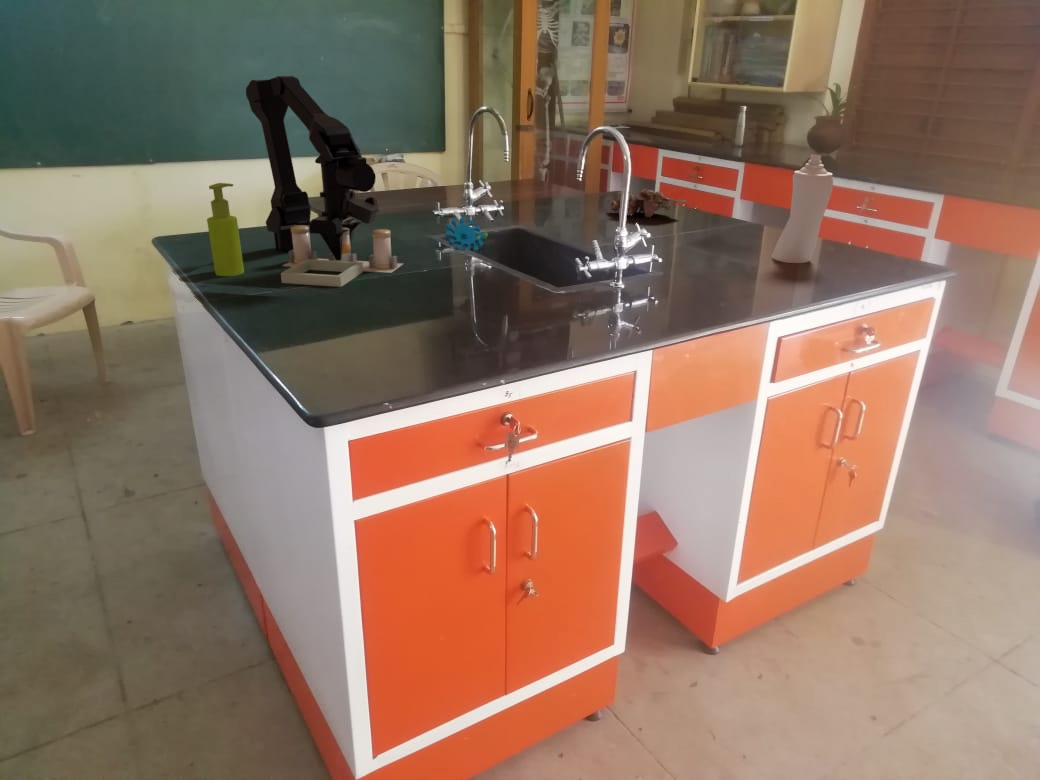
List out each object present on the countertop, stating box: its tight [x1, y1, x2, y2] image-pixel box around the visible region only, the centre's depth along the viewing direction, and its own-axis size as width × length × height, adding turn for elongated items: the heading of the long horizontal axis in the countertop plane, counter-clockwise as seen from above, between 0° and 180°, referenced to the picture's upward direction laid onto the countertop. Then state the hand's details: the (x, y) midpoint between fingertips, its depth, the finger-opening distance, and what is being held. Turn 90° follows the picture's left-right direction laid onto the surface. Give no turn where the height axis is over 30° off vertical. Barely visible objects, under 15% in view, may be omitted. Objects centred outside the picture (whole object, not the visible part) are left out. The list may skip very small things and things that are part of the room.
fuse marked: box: [334, 227, 352, 262], centre depth 170 cm, size 4×4×8 cm
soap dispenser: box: [206, 182, 245, 277], centre depth 162 cm, size 6×7×20 cm
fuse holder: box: [281, 250, 404, 274], centre depth 172 cm, size 26×8×4 cm, turn 79°
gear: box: [445, 217, 489, 252], centre depth 193 cm, size 11×6×10 cm
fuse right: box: [371, 228, 392, 270], centre depth 169 cm, size 4×4×8 cm
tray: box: [280, 259, 364, 295], centre depth 162 cm, size 13×12×4 cm
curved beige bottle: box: [771, 153, 834, 264], centre depth 181 cm, size 12×11×25 cm
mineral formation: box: [610, 188, 688, 218], centre depth 233 cm, size 23×16×10 cm
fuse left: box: [291, 225, 312, 264], centre depth 172 cm, size 4×4×8 cm
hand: (342, 257), depth 171 cm, fingers closed on fuse marked, 4 cm apart
